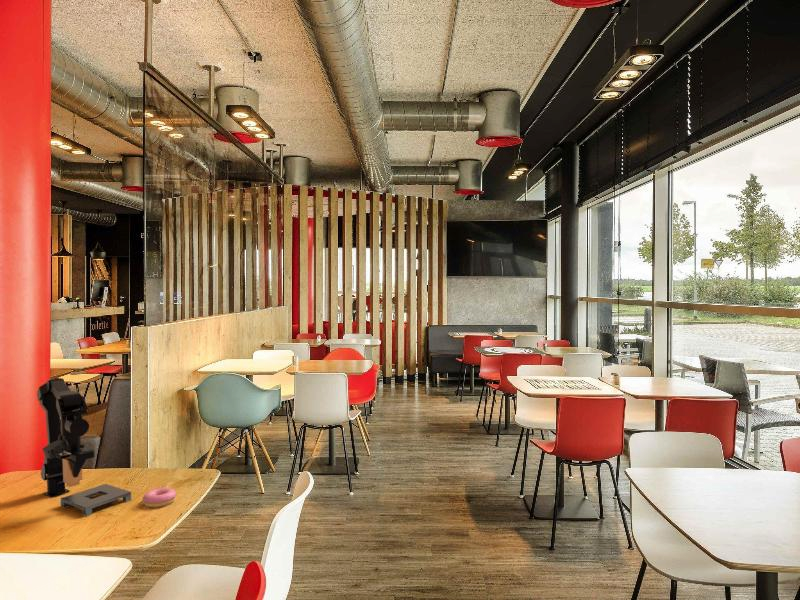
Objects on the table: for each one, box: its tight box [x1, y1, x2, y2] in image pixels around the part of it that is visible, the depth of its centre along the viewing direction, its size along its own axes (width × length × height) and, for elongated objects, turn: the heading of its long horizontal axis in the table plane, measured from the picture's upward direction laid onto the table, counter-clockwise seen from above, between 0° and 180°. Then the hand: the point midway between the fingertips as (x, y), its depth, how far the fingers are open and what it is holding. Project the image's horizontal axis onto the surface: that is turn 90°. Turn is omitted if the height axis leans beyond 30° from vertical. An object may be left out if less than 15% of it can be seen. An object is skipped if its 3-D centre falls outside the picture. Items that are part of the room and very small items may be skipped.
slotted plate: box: [60, 483, 132, 517], centre depth 199 cm, size 16×16×3 cm
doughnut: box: [142, 487, 177, 508], centre depth 199 cm, size 11×11×4 cm
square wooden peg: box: [62, 456, 83, 488], centre depth 192 cm, size 4×4×10 cm
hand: (72, 476), depth 192 cm, fingers closed on square wooden peg, 3 cm apart
